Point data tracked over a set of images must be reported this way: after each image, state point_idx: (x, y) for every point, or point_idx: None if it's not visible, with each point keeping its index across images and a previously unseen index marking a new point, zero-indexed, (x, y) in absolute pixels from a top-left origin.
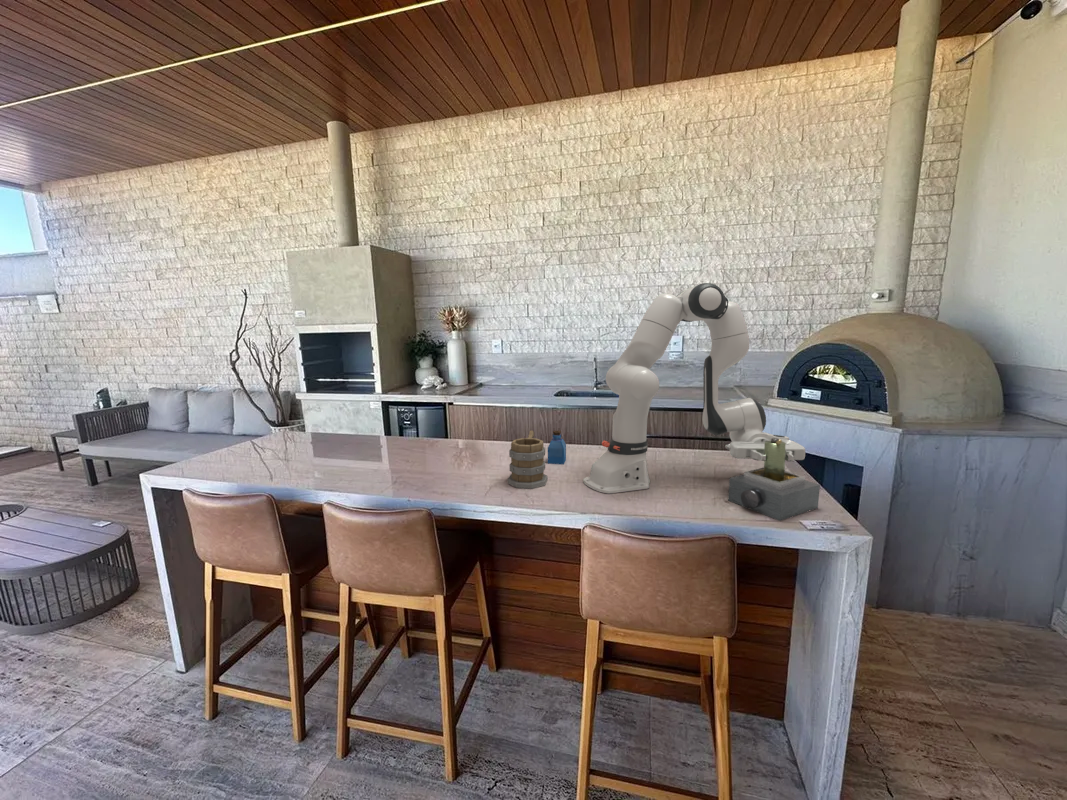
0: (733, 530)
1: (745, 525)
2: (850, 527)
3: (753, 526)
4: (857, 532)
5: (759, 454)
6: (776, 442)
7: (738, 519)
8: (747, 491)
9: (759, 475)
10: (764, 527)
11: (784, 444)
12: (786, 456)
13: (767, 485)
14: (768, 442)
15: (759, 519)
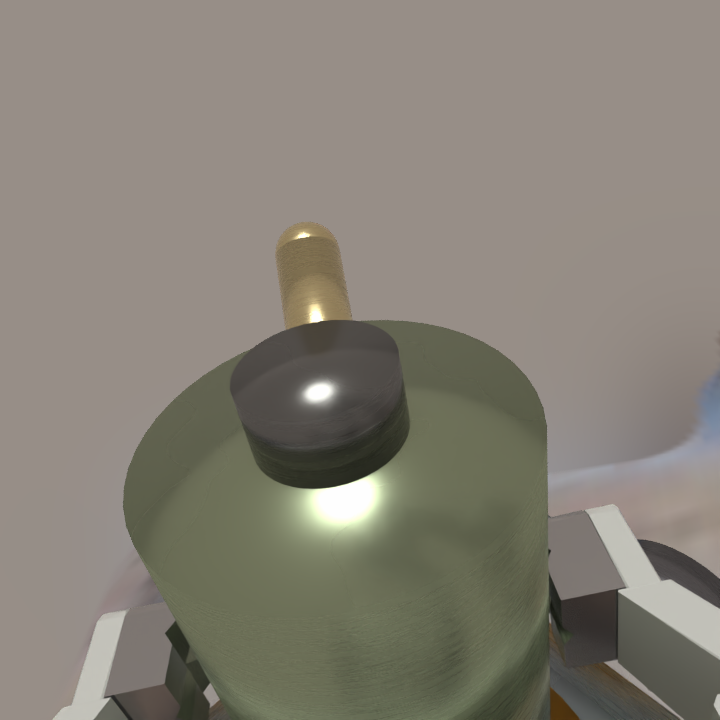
0: (706, 409)
1: (657, 469)
2: (123, 605)
3: (615, 471)
4: (135, 559)
5: (636, 545)
6: (348, 305)
7: (710, 523)
8: (701, 570)
9: (608, 665)
10: (560, 478)
11: (216, 375)
12: (183, 667)
13: None
14: (465, 414)
15: None
